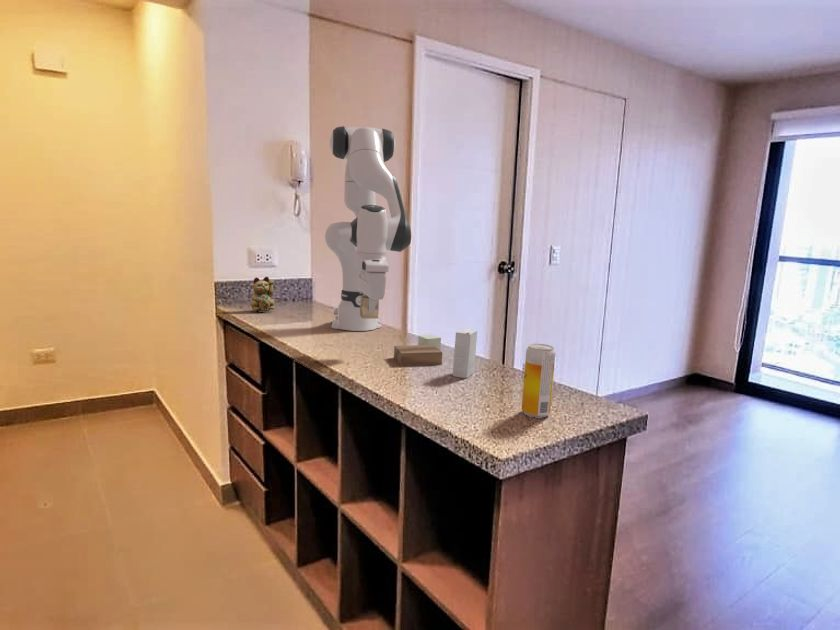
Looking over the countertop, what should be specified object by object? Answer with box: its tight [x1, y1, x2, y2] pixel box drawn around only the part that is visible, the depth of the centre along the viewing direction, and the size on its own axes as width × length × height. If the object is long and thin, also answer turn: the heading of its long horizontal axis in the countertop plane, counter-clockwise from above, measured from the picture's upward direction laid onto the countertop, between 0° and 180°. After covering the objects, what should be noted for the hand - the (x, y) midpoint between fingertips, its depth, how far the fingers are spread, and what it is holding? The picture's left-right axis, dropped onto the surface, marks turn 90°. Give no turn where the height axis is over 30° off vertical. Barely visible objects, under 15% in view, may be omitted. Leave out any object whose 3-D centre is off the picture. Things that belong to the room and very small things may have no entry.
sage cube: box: [418, 334, 442, 351], centre depth 168 cm, size 5×5×5 cm
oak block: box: [360, 296, 380, 320], centre depth 157 cm, size 4×4×6 cm
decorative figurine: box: [250, 276, 275, 313], centre depth 225 cm, size 10×8×15 cm
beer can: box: [521, 343, 556, 419], centre depth 115 cm, size 6×6×15 cm
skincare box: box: [452, 328, 478, 379], centre depth 143 cm, size 6×4×12 cm
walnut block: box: [393, 344, 443, 367], centre depth 156 cm, size 9×12×4 cm
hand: (369, 309), depth 157 cm, fingers closed on oak block, 4 cm apart
